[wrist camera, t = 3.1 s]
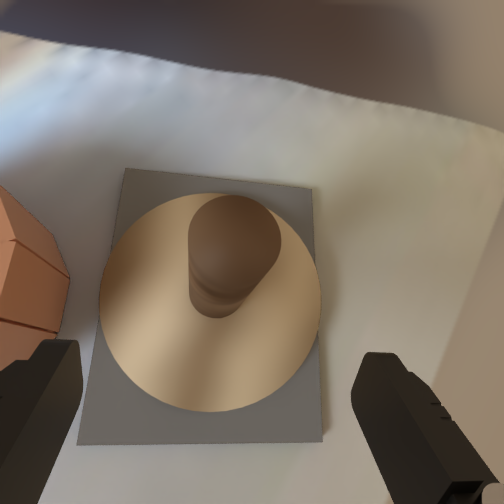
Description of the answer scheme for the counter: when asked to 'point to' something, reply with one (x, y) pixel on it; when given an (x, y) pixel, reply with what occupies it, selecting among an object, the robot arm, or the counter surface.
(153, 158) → the counter surface
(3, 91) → the counter surface
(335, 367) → the counter surface
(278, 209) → the mat
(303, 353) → the lid
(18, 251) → the bowl
